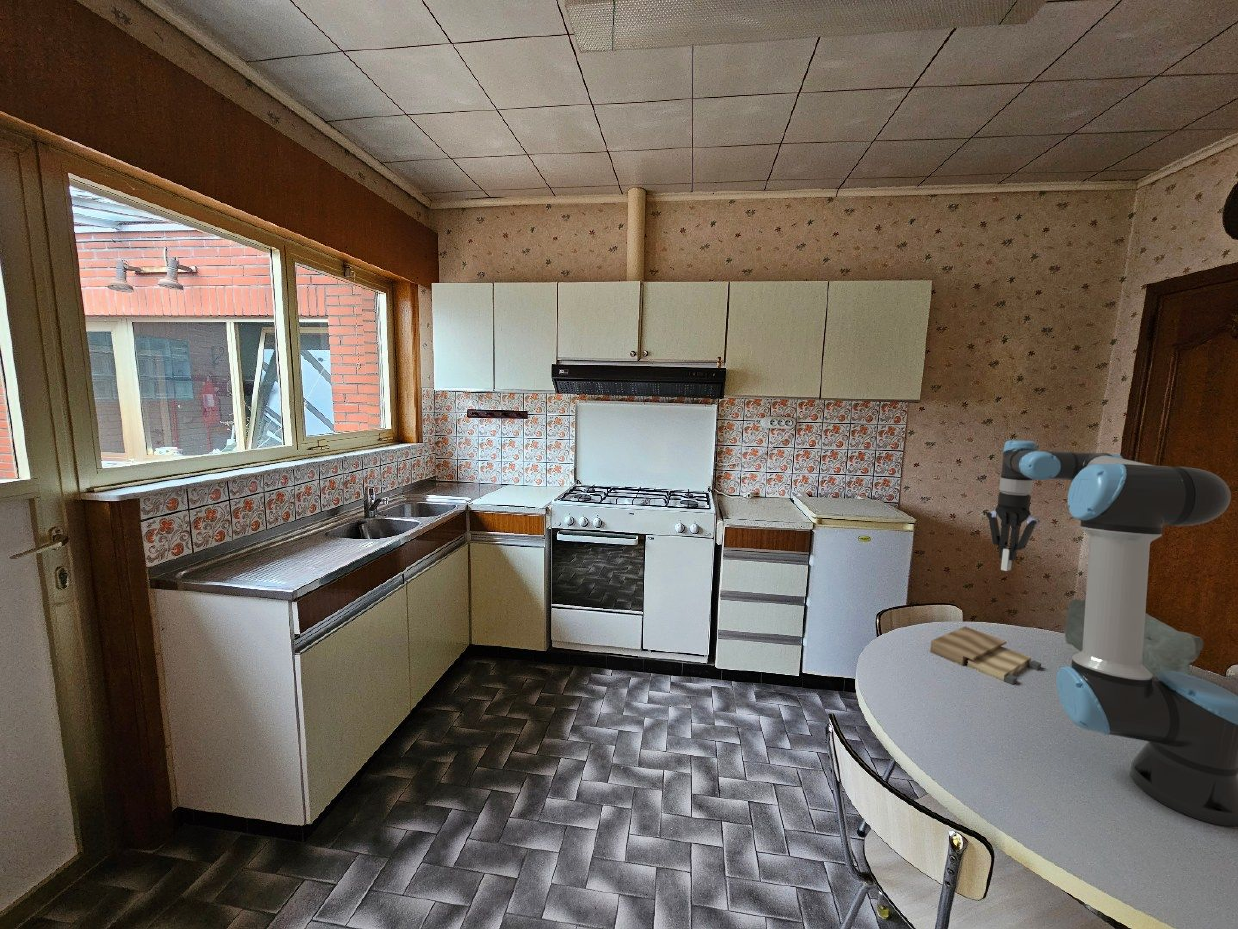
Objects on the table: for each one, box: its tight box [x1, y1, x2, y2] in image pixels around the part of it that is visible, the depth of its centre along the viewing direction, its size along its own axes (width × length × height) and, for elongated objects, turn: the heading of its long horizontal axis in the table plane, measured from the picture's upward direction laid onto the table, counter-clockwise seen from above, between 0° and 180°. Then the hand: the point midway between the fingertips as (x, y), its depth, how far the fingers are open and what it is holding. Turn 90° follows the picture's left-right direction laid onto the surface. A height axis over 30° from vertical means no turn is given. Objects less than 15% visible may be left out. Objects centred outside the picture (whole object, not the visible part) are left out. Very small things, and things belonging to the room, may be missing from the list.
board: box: [929, 626, 1007, 666], centre depth 153 cm, size 20×12×4 cm, turn 120°
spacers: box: [1003, 660, 1042, 685], centre depth 141 cm, size 17×2×2 cm, turn 120°
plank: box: [966, 646, 1032, 682], centre depth 146 cm, size 18×9×5 cm, turn 122°
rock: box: [1064, 598, 1204, 678], centre depth 141 cm, size 27×6×20 cm, turn 42°
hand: (1005, 569), depth 150 cm, fingers closed
